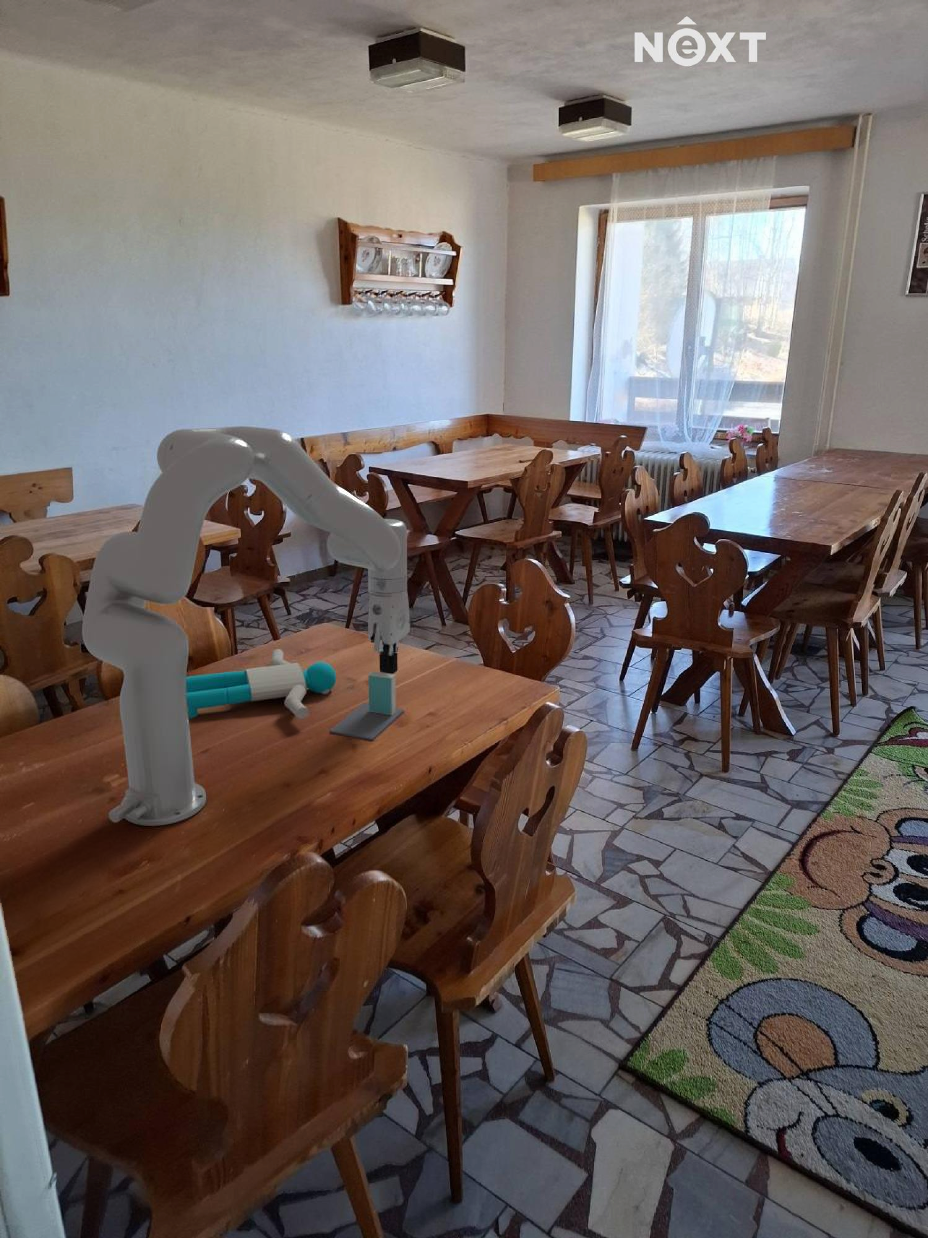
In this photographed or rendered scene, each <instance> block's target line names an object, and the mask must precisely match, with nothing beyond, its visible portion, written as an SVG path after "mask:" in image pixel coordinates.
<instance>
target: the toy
mask: <svg viewBox="0 0 928 1238" xmlns="http://www.w3.org/2000/svg"><path fill="white" fill-rule="evenodd" d="M271 653H272V654H271V659H270V661H269V664H270V665H269V666H259V667H253V668H245V669H244V670H238V671H237V670H235V671H225V672H216V673H207V674H199V675H192V676H191V675H190V676H186V697H187V709H188V718H189V719H193V718H195V717H197V716H198V714H199V713H198V709H199V710H200V709H205V708H215V707H222V706H226V705H234V704H239V703H245V702H246V703H247V702H257V701H264V700H272V699H279V698H285V700H284V706H285V707H286V708H287V709H289V710H290V711H291V713H293V714H294V716H295V717H296V718H297V719H300V720H301V719H303V720H304V719H305V718H307V717H308V715H309V710H308V708H307V707H306V706H305V705H304V704H303V703H302V701H303V698H304V697H305V696H306V694H307V692H308V690H310V692H313V693H315V694H322V695H327V694H329V693H330V691H331V690H332V689H333V688H334V687H335V685H336V682H337V674H336V671H335V669H334V667H333V666H332V665H331V664H329V663H327V662H323V661H318V662H314V663H313V664H311V665H310V666H308V668H307V669H305V670H303V669H302V667H301V665H300V664H299V663H298V662H293V663H290V662H288V661H287V660H285V659H284V651H283V650H282V649H279V648H276V649H274V650H273V651H272V652H271ZM307 688H308V690H307ZM192 717H193V718H192Z"/></svg>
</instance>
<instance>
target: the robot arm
mask: <svg viewBox="0 0 928 1238" xmlns="http://www.w3.org/2000/svg"><path fill="white" fill-rule="evenodd" d="M156 459H157V461H156V462H157V465H158V467H159V470H160V471H161V472H162V473H161V474H159V476H158V477H157V478H156V479H155V481H154V482H153V484H152V486H151V487H150V489H149V491H148V493H147V495H146V498H145V502H144V505H143V510H142V511H141V512H142V514H141V516H140V521H139V524H138V528H137V531H122V532H119V533H116V534H114V535H112V536H110V537H109V538H108V539H107V540H106V541H104V543H103V544H102V546H101V547H100V549H99V550H98V552H97V554H96V557H95V559H94V562H93V565H92V570H91V575H90V580H89V586H88V591H87V596H86V601H85V608H84V611H83V613H84V614H83V618H82V629H81V631H82V633H81V635H82V640H83V644H84V646H85V647H86V649H87V651H88V652H89V653H90V655H92V656H94V657H95V658H96V659H98V660H100V661H102V662H105V663H107V664H109V665H111V666H114V667H116V668H118V669H120V670H121V671H122V672H123V682H122V686H121V689H120V694H119V713H120V714H119V715H120V720H121V726H122V735H123V743H124V753H125V759H126V769H127V778H128V786H129V787H128V788H127V789H125V790H124V793H125V797H124V798H123V799H122V801H121V803H120V804H119V805H117V806H116V807H115V808H113V809H112V810H110V811H109V812H108V818H109V820H110V821H111V822H113V823H118V822H120V821H121V820H123V819H125V820H126V821H128V822H129V823H132V824H135V825H140V826H147V827H150V826H151V827H157V826H158V827H159V826H165V825H171V824H176V823H179V822H181V821H183V820H186V819H189V818H190V817H192V816H194V815H196V814H197V813H198V812H200V811H201V810H202V808H203V807H204V806H205V804H206V803H207V795H206V790H205V788H204V786H203V787H202V786H201V784H198V783H196V782H195V775H194V762H193V754H192V753H193V751H192V745H191V744H192V743H191V741H192V740H191V732H190V721H189V720H190V718H189V713H188V704H187V695H186V677H187V668H188V661H189V660H188V659H189V652H190V651H189V649H190V648H189V641H188V637H187V635H186V633H185V631H184V630H183V628H182V627H181V625H179V624H178V623H177V622H176V620H173V619H172V618H170V617H168V616H166V615H164V614H161V613H159V612H156V611H153V610H150V609H147V608H146V603H147V602H150V603H153V604H157V605H159V604H160V605H172V604H175V603H179V602H180V601H181V600H182V599H183V598H184V597H185V596H186V595H187V593H188V591H189V589H190V586H191V583H192V578H193V572H194V567H195V562H196V558H197V553H198V547H199V543H200V538H201V533H202V530H203V529H202V528H203V527H204V522H205V519H206V516H207V514H208V512H209V511H210V509H211V507H212V506H213V505H214V504H215V503H216V502H217V501H218V500H219V499H220V498H221V497H222V496H223V495H225V494H227V493H229V492H230V491H232V490H234V489H236V488H239V487H240V486H241V485H243V484H244V483H245V482H246V481H247V480H248V479H249V480H257V481H260V482H261V483H263V484H264V485H265V486H266V487H267V488H268V489H269V490H270V491H271V492H272V493H273V495H275V496H276V497H277V498H278V499H279V500H280V501H281V502H282V503H283V504H284V505H286V507H287V508H289V510H290V511H291V512H292V513H293V514H294V515H295V516H296V517H297V518H298V519H299V520H302V521H303V522H306V523H307V524H309V525H310V526H313V527H315V528H317V529H321V530H323V531H325V532H327V533H330V534H329V536H328V537H327V541H326V542H327V543H326V546H327V547H326V548H327V551H328V552H329V553H328V554H330V556H331V557H332V558H333V560H336V561H337V562H339V563H342V564H345V565H350V566H352V567H353V566H354V567H360V568H364V569H367V581H368V582H367V585H368V587H367V590H368V593H369V603H368V618H367V619H368V622H367V623H368V624H367V625H368V626H367V627H368V628H367V631H368V640H369V641H370V643H373V651H374V652H377V653H378V655H379V672H382V673H389V674H395V673H397V672H398V665H399V664H398V652H399V641H400V640H402V638H404V637H405V636H407V635H408V634H409V633H410V630H411V622H410V620H411V619H410V618H411V617H410V604H409V596H408V555H407V554H408V552H407V551H408V550H407V549H408V547H407V546H408V533H407V526H406V524H405V523H404V521H402V520H398V519H392V518H383V517H382V515H380V514H379V512H377V511H376V510H374V509H373V508H372V507H371V506H370V505H368V504H366V503H364V502H363V501H362V500H360V499H359V498H357V497H356V496H354V495H353V494H351V493H350V492H349V491H347V490H345V489H344V488H343V487H341V486H339V485H338V484H336V483H334V482H333V480H331V479H330V477H329V476H328V475H327V474H326V473H325V472H324V471H323V470H322V469H321V467H320V466H319V465H318V464H317V463H316V462H315V461H314V460H313V459H312V458H311V456H310V455H309V454H308V453H307V452H306V451H305V449H303V447H302V446H301V445H300V444H299V442H297V441H296V440H295V438H293V437H292V436H291V435H290V434H288V433H287V432H284V431H282V430H279V429H275V428H267V427H266V428H265V427H256V426H255V427H254V426H241V425H240V426H229V427H227V426H225V427H212V428H211V427H209V428H205V427H204V428H184V429H183V428H182V429H177V430H175V431H172V432H170V433H168V434H167V435H166V436H165V437H164V438H162V440H161V442H160V443H159V445H158V448H157V451H156Z"/></svg>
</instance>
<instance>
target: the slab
mask: <svg viewBox="0 0 928 1238" xmlns="http://www.w3.org/2000/svg"><path fill="white" fill-rule="evenodd" d="M367 677H368V704H369V711H370V712H375V713H381V714H387V715H393V714H394V713H395V712H396V702H397V701H396V674H395V673H394V674H389V673H383V672H380V671H376V670H371V671H370V672H369V673H368V675H367Z"/></svg>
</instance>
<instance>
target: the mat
mask: <svg viewBox="0 0 928 1238" xmlns="http://www.w3.org/2000/svg"><path fill="white" fill-rule="evenodd" d="M403 713H405V709H402V708H396V712H395V713H394V714H393V715H387V714H381V713H375V712H370V711H369V702H367V703H366V702H363V703H361V704H360V705H359V706H358V707H356V708H355V709H354V710H352V712H350V713H349V714H347V716H346V717H344V718H343V719H342V720H340V722H338V723H336V725H334V726H333V727H331V728H330V730H329V733H330V734H336V735H341V736H347V737H352V738H356V739H357V738H358V739H363V740H368V741H374V740H375V739H376V738H377V737H378V736H380V735H381V734H382V732H384V731H385V730H387V728H388V727H390V726H391V724H393V723H394V722H395V721H396V720H397V719H398V718H399V717H400V716H401V715H402V714H403Z"/></svg>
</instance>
